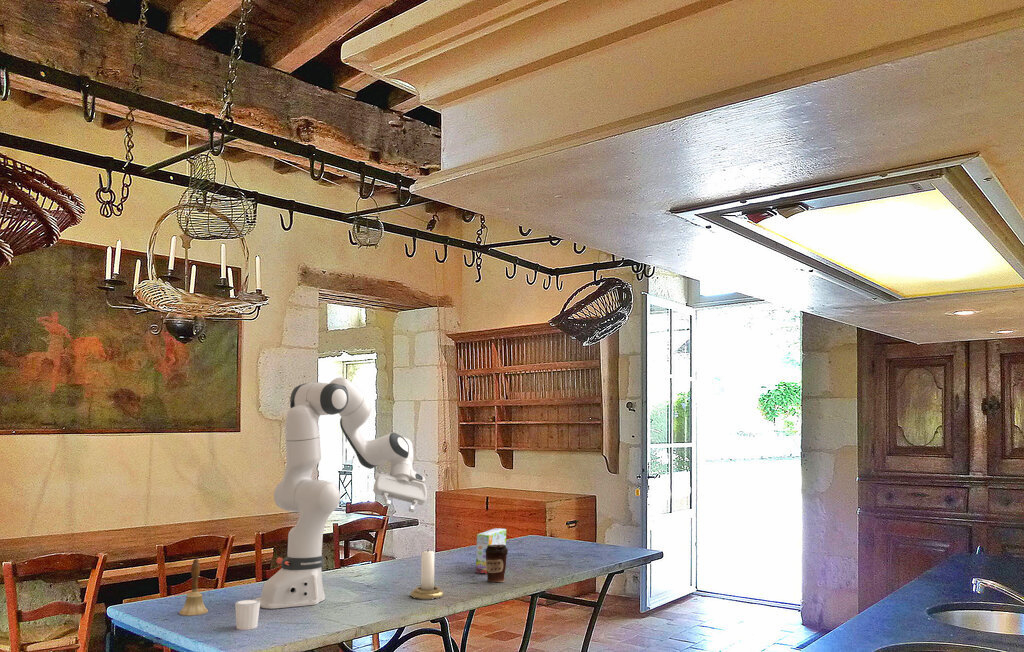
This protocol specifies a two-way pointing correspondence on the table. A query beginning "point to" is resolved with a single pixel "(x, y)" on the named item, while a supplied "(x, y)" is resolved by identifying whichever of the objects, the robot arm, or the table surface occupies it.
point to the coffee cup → (496, 562)
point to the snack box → (485, 539)
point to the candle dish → (427, 593)
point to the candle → (427, 570)
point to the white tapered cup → (247, 614)
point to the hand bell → (194, 595)
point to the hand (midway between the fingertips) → (399, 508)
